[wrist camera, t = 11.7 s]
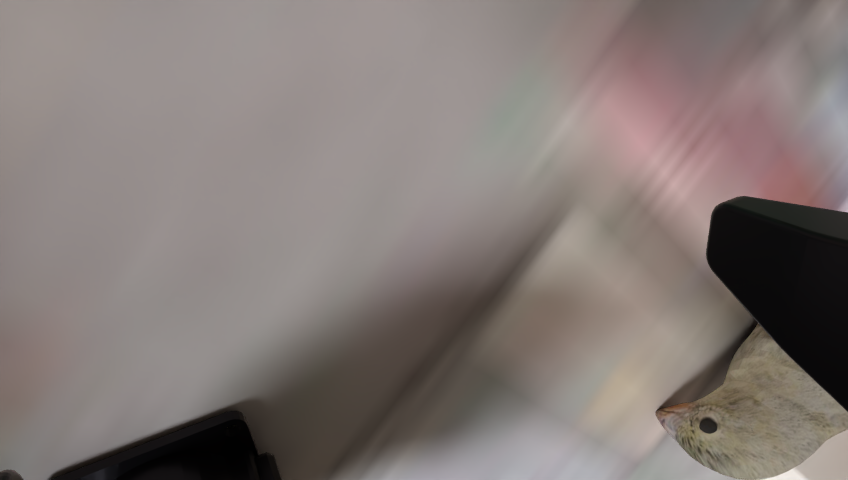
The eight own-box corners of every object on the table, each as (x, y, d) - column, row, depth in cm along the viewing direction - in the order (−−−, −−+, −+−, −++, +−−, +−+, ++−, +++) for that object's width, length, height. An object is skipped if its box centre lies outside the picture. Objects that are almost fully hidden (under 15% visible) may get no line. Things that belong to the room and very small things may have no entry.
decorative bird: (633, 389, 32) (756, 509, 27) (886, 173, 33) (1064, 245, 27) (665, 437, 36) (781, 554, 30) (894, 241, 36) (1054, 319, 30)
